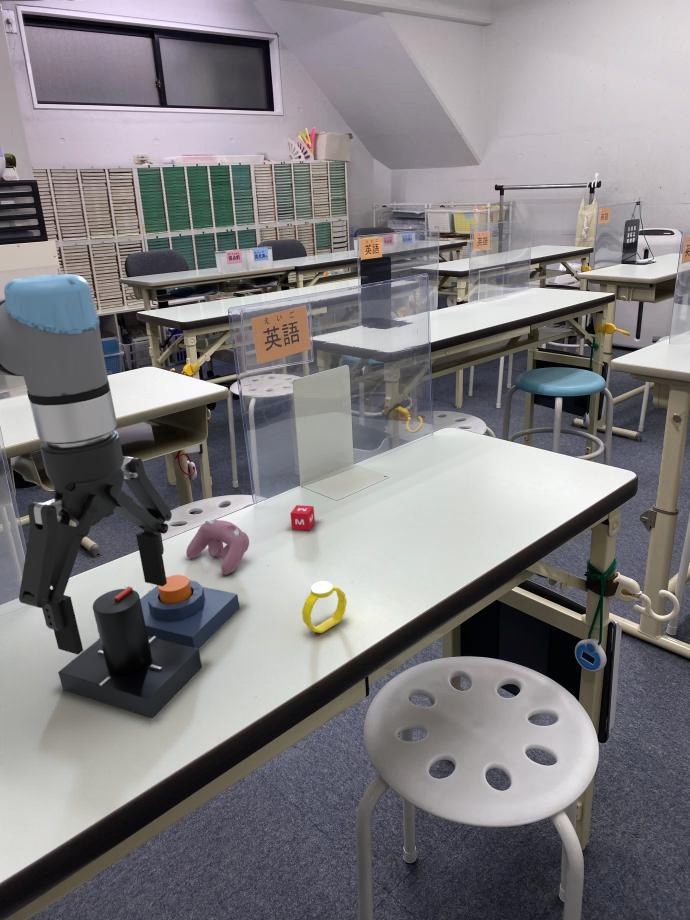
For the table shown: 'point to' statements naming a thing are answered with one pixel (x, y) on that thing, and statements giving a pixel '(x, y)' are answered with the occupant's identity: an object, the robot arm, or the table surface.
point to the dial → (122, 630)
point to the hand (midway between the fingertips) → (116, 614)
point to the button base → (188, 615)
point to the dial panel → (133, 677)
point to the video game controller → (220, 543)
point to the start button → (175, 589)
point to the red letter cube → (302, 517)
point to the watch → (322, 591)
